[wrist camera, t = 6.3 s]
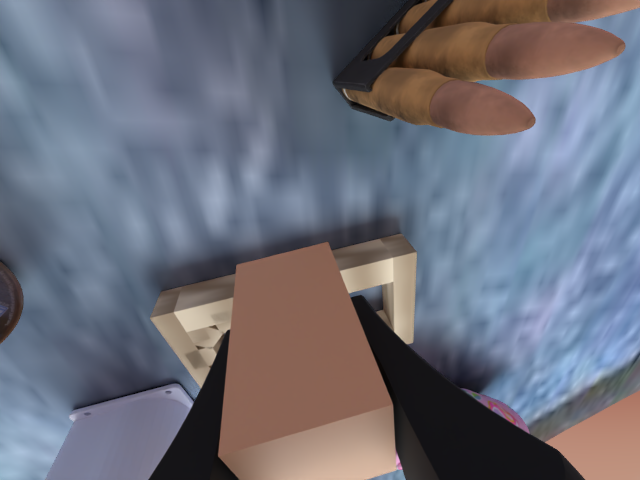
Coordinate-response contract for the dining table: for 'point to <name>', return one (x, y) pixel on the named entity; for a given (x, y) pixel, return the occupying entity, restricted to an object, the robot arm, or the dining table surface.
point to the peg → (302, 377)
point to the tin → (9, 302)
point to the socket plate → (217, 295)
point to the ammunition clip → (474, 59)
